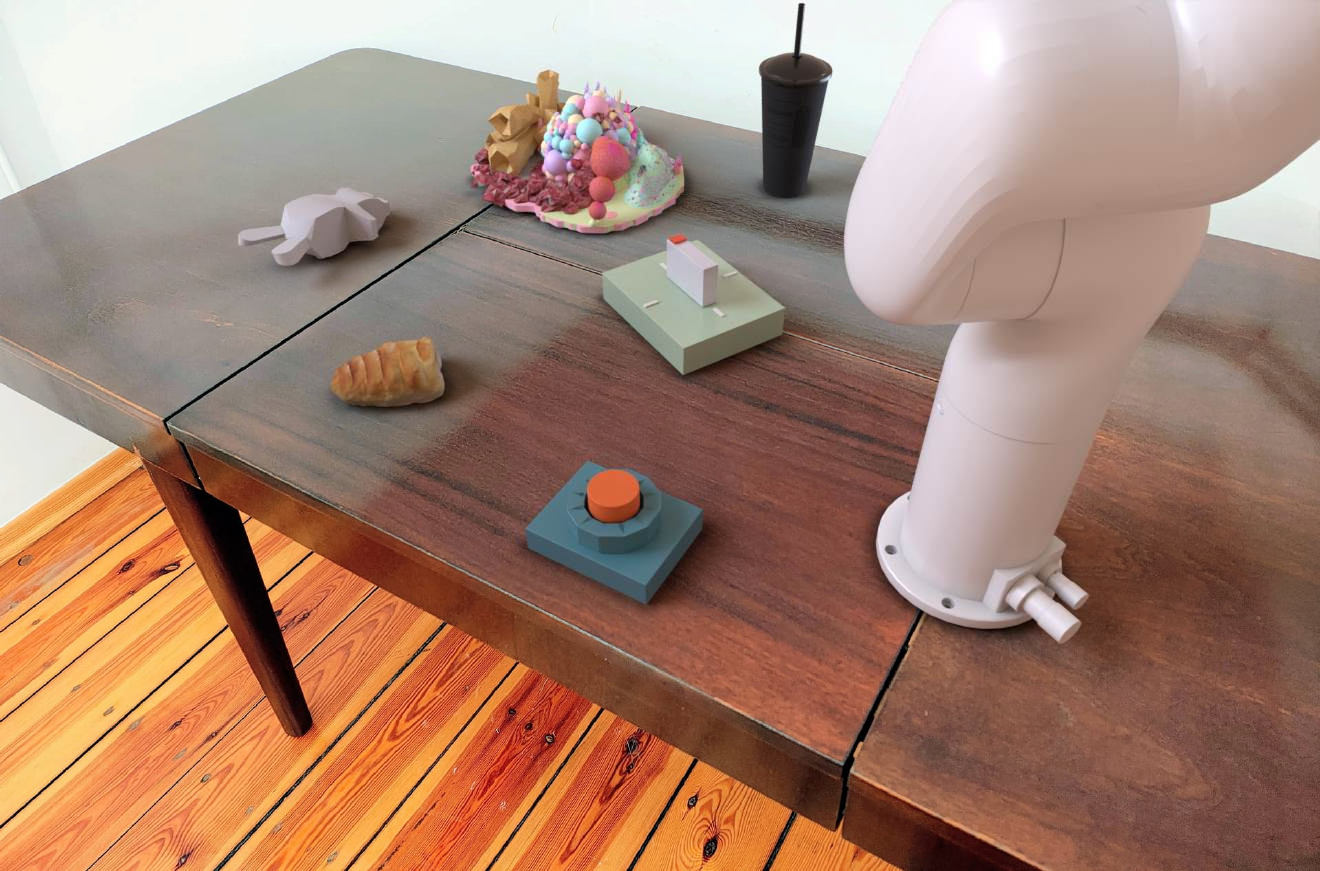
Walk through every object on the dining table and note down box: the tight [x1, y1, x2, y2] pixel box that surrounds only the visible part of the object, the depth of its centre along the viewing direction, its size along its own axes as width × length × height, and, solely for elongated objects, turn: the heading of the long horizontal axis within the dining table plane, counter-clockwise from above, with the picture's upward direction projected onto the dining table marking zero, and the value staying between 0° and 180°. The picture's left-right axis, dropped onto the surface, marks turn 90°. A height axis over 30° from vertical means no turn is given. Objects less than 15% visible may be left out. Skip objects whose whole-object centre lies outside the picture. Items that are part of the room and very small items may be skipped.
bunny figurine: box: [237, 186, 391, 267], centre depth 96 cm, size 10×5×15 cm
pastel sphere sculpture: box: [470, 69, 685, 234], centre depth 105 cm, size 25×24×9 cm
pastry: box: [330, 336, 445, 408], centre depth 79 cm, size 9×7×4 cm
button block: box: [525, 460, 704, 605], centre depth 66 cm, size 10×8×4 cm
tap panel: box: [601, 239, 786, 376], centre depth 87 cm, size 14×11×3 cm
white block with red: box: [666, 233, 718, 307], centre depth 85 cm, size 6×2×4 cm, turn 33°
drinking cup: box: [758, 2, 834, 199], centre depth 100 cm, size 8×8×20 cm
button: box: [587, 470, 640, 524], centre depth 65 cm, size 4×4×2 cm
